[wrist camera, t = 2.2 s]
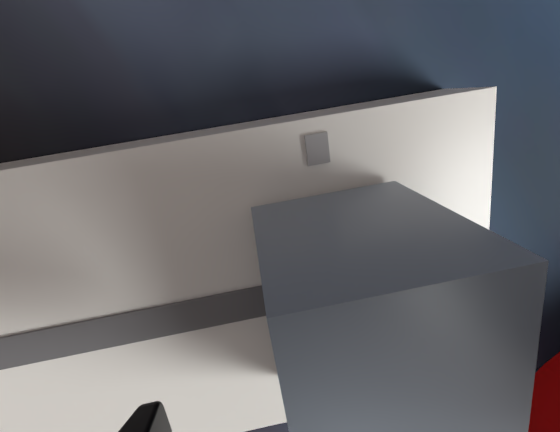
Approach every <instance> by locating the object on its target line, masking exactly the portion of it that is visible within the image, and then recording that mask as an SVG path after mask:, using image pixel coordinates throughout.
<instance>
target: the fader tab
mask: <svg viewBox="0 0 560 432" xmlns="http://www.w3.org/2000/svg"><path fill="white" fill-rule="evenodd" d="M251 212H252V219H253V226H254V233H255V240H256V248H257V255H258V262H259V269H260V276H261V283H262V290H263V297H264V304H265V311H266V318H267V323H268V328H269V333H270V338H271V344H272V349H273V354H274V359H275V364H276V369H277V374H278V379H279V384H280V389H281V394H282V399H283V404H284V409H285V414H286V419H287V424H288V430H289V432H528V430H529V421H530V413H531V404H532V396H533V387H534V379H535V370H536V362H537V354H538V345H539V337H540V328H541V320H542V311H543V303H544V295H545V286H546V278H547V269H548V260H546V259H544V258H542V257H540V256H538V255H536V254H534V253H533V252H531V251H529V250H527V249H525V248H523V247H521V246H519V245H517V244H515V243H513V242H511V241H510V240H508V239H506V238H504V237H502V236H500V235H498V234H496V233H494V232H492V231H490V230H488V229H486V228H485V227H483V226H481V225H479V224H477V223H475V222H473V221H471V220H469V219H467V218H465V217H463V216H461V215H460V214H458V213H456V212H454V211H452V210H450V209H448V208H446V207H444V206H442V205H440V204H438V203H437V202H435V201H433V200H431V199H429V198H427V197H425V196H423V195H421V194H419V193H417V192H415V191H413V190H412V189H410V188H408V187H406V186H404V185H402V184H400V183H398V182H396V181H391V182H385V183H380V184H374V185H369V186H363V187H358V188H353V189H347V190H342V191H336V192H331V193H325V194H320V195H314V196H309V197H304V198H298V199H293V200H287V201H282V202H276V203H271V204H265V205H260V206H255V207H251Z"/></svg>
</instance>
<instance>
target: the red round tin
mask: <svg viewBox="0 0 560 432" xmlns="http://www.w3.org/2000/svg"><path fill="white" fill-rule="evenodd" d="M528 432H560V352H559V353H558V354H556V355H555V356H554V357H553V358H551V359H550V360H549V361H548V362H546V363H545V364H544V365H543V366H542V367H541V368H540V369H539V370H538V371H537V372H536V373H535V379H534V387H533V396H532V404H531V413H530V421H529V430H528Z"/></svg>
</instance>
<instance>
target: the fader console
mask: <svg viewBox="0 0 560 432" xmlns="http://www.w3.org/2000/svg"><path fill="white" fill-rule="evenodd" d="M496 91H497V87H477V88H453V89H440V90H434V91H428V92H422V93H416V94H410V95H405V96H399V97H393V98H387V99H381V100H375V101H369V102H363V103H357V104H351V105H345V106H339V107H333V108H327V109H321V110H315V111H309V112H303V113H297V114H291V115H285V116H279V117H273V118H267V119H261V120H256V121H250V122H244V123H238V124H232V125H226V126H220V127H214V128H208V129H202V130H196V131H190V132H184V133H178V134H172V135H166V136H160V137H154V138H148V139H142V140H136V141H130V142H124V143H118V144H112V145H106V146H101V147H95V148H89V149H83V150H77V151H71V152H65V153H59V154H53V155H47V156H41V157H35V158H29V159H23V160H17V161H11V162H5V163H0V432H118V431H119V430H120V429H121V427H122V426H123V425H124V424H125V422H126V421H127V420H128V419H129V418H130V416H131V415H132V414H133V413H134V411H135V410H136V409H137V408H138V407H139V406H140V405H142V404H145V403H150V402H154V401H160V402H161V403H162V404H163V406H164V409H165V411H166V414H167V417H168V420H169V423H170V426H171V429H172V432H244V431H249V430H253V429H258V428H262V427H267V426H271V425H276V424H280V423H284V422H287V419H286V414H285V409H284V404H283V399H282V394H281V389H280V384H279V379H278V374H277V369H276V364H275V359H274V354H273V349H272V344H271V338H270V333H269V328H268V323H267V318H266V311H265V304H264V297H263V290H262V283H261V276H260V269H259V262H258V255H257V248H256V240H255V233H254V226H253V219H252V212H251V207H255V206H260V205H265V204H271V203H276V202H282V201H287V200H293V199H298V198H304V197H309V196H314V195H320V194H325V193H331V192H336V191H342V190H347V189H353V188H358V187H363V186H369V185H374V184H380V183H385V182H391V181H396V182H398V183H400V184H402V185H404V186H406V187H408V188H410V189H412V190H413V191H415V192H417V193H419V194H421V195H423V196H425V197H427V198H429V199H431V200H433V201H435V202H437V203H438V204H440V205H442V206H444V207H446V208H448V209H450V210H452V211H454V212H456V213H458V214H460V215H461V216H463V217H465V218H467V219H469V220H471V221H473V222H475V223H477V224H479V225H481V226H483V227H485V228H486V229H488V230H489V223H490V204H491V185H492V166H493V148H494V129H495V110H496Z"/></svg>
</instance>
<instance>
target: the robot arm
mask: <svg viewBox="0 0 560 432" xmlns="http://www.w3.org/2000/svg"><path fill="white" fill-rule="evenodd" d="M118 432H172V429H171V426H170V423H169V420H168V417H167V414H166V411H165V409H164V406H163V404H162V403H161V402H160V401H154V402H150V403H145V404H142V405H140V406H139V407H138V408H137V409H136V410H135V411H134V413H133V414H132V415H131V416H130V418H129V419H128V420H127V421H126V422H125V424H124V425H123V426H122V427H121V429H120V430H119V431H118Z"/></svg>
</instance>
